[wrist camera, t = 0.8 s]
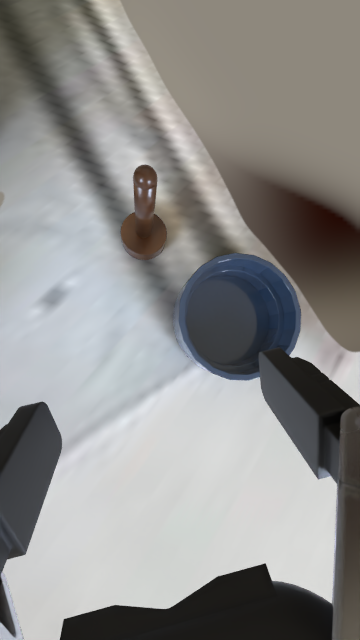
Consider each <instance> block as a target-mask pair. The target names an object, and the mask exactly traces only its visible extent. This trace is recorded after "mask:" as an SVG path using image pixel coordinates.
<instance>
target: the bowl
mask: <svg viewBox="0 0 360 640" xmlns="http://www.w3.org/2000/svg"><path fill="white" fill-rule="evenodd" d="M300 325H301V310H300V306H299V302H298V299H297V295H296V292H295V290H294V288H293V287H292V285H291V284H290V282H289V280H288V279H287V277H286V276H285V275H284V274H283V273H282V272H281V271H280V270H279V269H277V268H276V267H275V266H274V265H273V264H272V263H270V262H268V261H266V260H264V259H261V258H259V257H257V256H255V255H248V254H239V253H233V254H228V255H223V256H219V257H216V258H214V259H212V260H211V261H209V262H207V263H206V264H204V265H202V266H201V267H199V269H198V270H197V271H196V272H195V273H194V275H193V276H192V277H191V278H190V279H189V280H188V282H187V283H186V284H185V285H184V287H183V288H182V289H181V291H180V293H179V295H178V298H177V300H176V303H175V305H174V315H173V326H174V330H175V334H176V338H177V341H178V343H179V345H180V346H181V348H182V350H183V351H184V353H185V354H186V356H187V357H188V358H189V359H191V360H192V361H193V362H194V363H195V364H197V365H198V366H199V367H201V368H203V369H205V370H207V371H209V372H211V373H213V374H216V375H219V376H221V377H224V378H226V379H229V380H252V379H255V378H259V377H260V369H259V352H261V351H265V350H270V349H274V348H278V347H279V348H281V349H283V350H284V351H285V352H286V353H287V354H288V355H290V354H291V352H292V351H293V349H294V348H295V345H296V342H297V339H298V336H299V333H300Z"/></svg>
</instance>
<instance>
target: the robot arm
mask: <svg viewBox="0 0 360 640" xmlns="http://www.w3.org/2000/svg"><path fill="white" fill-rule="evenodd" d="M259 369H260V380H261V389H262V393H263V396H264V398H265V401H266V402H267V404H268V405H269V407H270V408H271V410H272V411H273V413H274V414H275V416H276V417H277V419H278V420H279V422H280V423H281V425H282V426H283V428H284V429H285V431H286V432H287V434H288V435H289V437H290V438H291V440H292V441H293V443H294V444H295V446H296V447H297V449H298V450H299V452H300V453H301V455H302V456H303V458H304V459H305V460H306V462H307V463H308V465H309V466H310V468H311V469H312V471H313V472H314V474H315V475H316V477H317V478H318V479H321V478H325V477H329V476H332V478H333V479H334V481H335V482H336V483H337V502H336V526H335V549H334V571H333V593H332V604H331V603H330V602H328V601H327V600H325V599H324V598H322V597H320V596H318V595H317V594H315V593H313V592H311V591H309V590H307V589H304V588H301V587H299V586H296V585H293V584H289V583H284V582H278V581H272V580H271V577H270V575H269V572H268V569H267V566H266V563H265V564H262V565H258V566H255V567H251V568H247V569H244V570H240V571H236V572H233V573H229V574H226V575H222V576H218V577H216V578H215V579H213V580H212V581H210V582H209V583H207V584H206V585H204V586H203V587H201V588H200V589H198V590H197V591H195V592H194V593H192V594H191V595H189V596H188V597H186V598H185V599H183V600H182V601H180V602H179V603H177V604H176V605H174V606H173V607H171V608H168V609H154V608H143V607H131V606H119V605H114V606H110V607H106V608H103V609H99V610H96V611H92V612H88V613H85V614H81V615H78V616H74V617H70V618H67V619H64V621H63V626H62V632H61V637H60V640H360V405H359V404H358V403H357V402H356V401H355V400H353V399H352V398H351V397H350V396H349V395H348V394H347V393H345V392H344V391H343V390H342V389H341V388H340V387H338V386H337V385H336V384H335V383H334V382H333V381H331V380H329V378H328V377H327V376H326V375H324V374H323V373H321V371H320V370H319V369H317V368H316V367H315V366H314V365H313V364H312V363H310V362H308V361H306V360H303V359H301V358H299V357H295V358H291V357H290V356H289V355H288V354H287V353H286V352H285V351H284V350H283V349H281V348H279V347H278V348H274V349H270V350H265V351H261V352H259ZM61 449H62V439H61V434H60V432H59V430H58V428H57V425H56V423H55V421H54V419H53V417H52V415H51V412H50V410H49V408H48V406H47V404H46V403H44V402H39V403H34V404H30V405H26V406H21V407H20V408H18V410H17V411H16V413H15V414H14V416H13V417H12V419H11V420H10V422H9V423H8V424H7V425H5V426H4V427H3V428H2V429H1V430H0V640H24V637H23V634H22V631H21V627H20V624H19V620H18V617H17V613H16V610H15V607H14V603H13V600H12V596H11V593H10V589H9V586H8V583H7V579H6V577H5V575H4V574H3V572H2V571H3V568H4V565H5V563H6V560H7V559H10V558H14V557H18V556H22V555H25V554H26V551H27V549H28V546H29V543H30V540H31V537H32V534H33V531H34V528H35V525H36V523H37V520H38V517H39V514H40V511H41V508H42V505H43V502H44V499H45V497H46V494H47V491H48V488H49V485H50V482H51V479H52V476H53V473H54V471H55V468H56V465H57V462H58V459H59V456H60V453H61Z"/></svg>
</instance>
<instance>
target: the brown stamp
mask: <svg viewBox="0 0 360 640" xmlns="http://www.w3.org/2000/svg"><path fill="white" fill-rule="evenodd" d="M133 181H134V202H135V212H134V213H132V214H130V215H129V216H128V217H127V218H126V219H125V220H124V222H123V224H122V227H121V238H122V243H123V246H124V248H125V250H126V251H127V252H128V253H129V254H130V255H131V256H133V257H134V258H137V259H140V260H149V259H152V258H155V257H156V256H158V255H159V254H160V253H161V251H162V250H163V248H164V245H165V241H166V236H167V232H166V227H165V225H164V223H163V221H162V220H161V219H160V218H159V217H158V216H157V215H155V214H154V208H155V198H156V188H157V174H156V172H155V170H154V169H153V168H152V167H151V166H149V165H141V166H139V167H138V168H136V170H135V172H134V175H133Z"/></svg>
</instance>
